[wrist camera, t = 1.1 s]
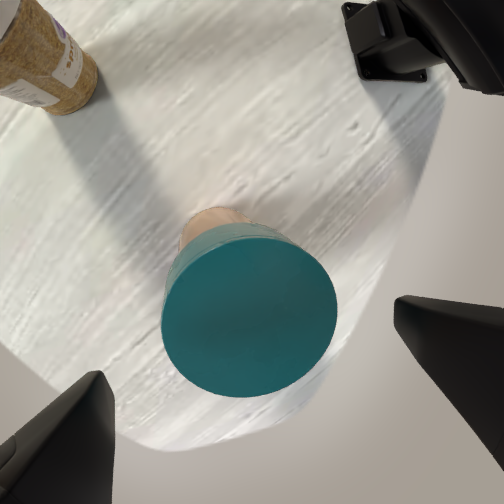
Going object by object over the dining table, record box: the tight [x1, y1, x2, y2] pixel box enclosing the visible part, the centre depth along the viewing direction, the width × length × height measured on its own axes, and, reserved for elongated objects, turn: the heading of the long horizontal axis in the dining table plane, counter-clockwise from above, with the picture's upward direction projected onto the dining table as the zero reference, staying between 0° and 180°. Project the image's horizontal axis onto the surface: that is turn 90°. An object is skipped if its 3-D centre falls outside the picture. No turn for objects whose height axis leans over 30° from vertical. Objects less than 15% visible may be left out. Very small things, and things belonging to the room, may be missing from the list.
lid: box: [161, 222, 337, 397], centre depth 12 cm, size 6×6×3 cm
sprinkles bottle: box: [0, 0, 98, 115], centre depth 10 cm, size 5×5×13 cm
